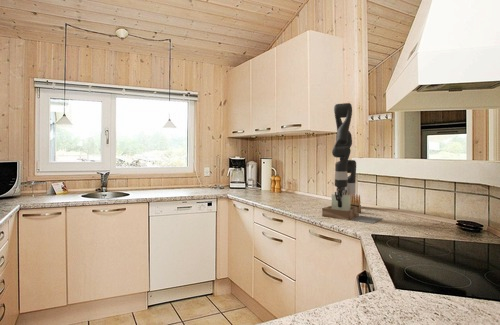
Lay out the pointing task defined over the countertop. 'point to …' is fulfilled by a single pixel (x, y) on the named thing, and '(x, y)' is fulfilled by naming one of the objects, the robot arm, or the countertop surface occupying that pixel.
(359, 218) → the rubber mat
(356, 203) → the ammunition clip
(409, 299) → the countertop surface
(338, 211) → the walnut box
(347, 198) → the pale green rectangular block
